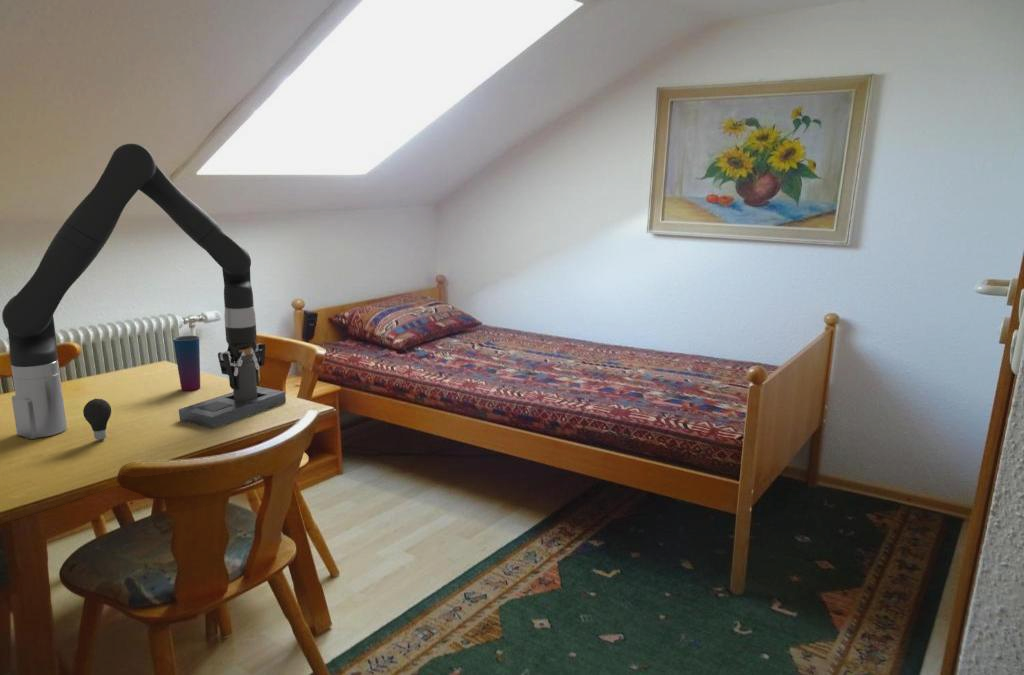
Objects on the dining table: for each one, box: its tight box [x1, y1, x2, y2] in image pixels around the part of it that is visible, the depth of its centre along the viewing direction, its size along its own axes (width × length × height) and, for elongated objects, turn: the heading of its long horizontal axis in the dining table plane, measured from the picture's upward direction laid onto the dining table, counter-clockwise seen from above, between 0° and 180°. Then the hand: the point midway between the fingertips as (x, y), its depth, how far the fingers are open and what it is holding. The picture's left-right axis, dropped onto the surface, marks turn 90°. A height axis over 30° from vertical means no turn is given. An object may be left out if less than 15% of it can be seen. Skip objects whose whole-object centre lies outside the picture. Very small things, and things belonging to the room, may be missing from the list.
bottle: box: [232, 347, 258, 402], centre depth 189 cm, size 6×6×15 cm
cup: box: [173, 335, 201, 392], centre depth 205 cm, size 7×7×15 cm
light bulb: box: [82, 398, 112, 442], centre depth 165 cm, size 6×6×10 cm
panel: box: [178, 385, 287, 430], centre depth 187 cm, size 24×12×3 cm, turn 152°
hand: (244, 385), depth 190 cm, fingers closed on bottle, 5 cm apart
